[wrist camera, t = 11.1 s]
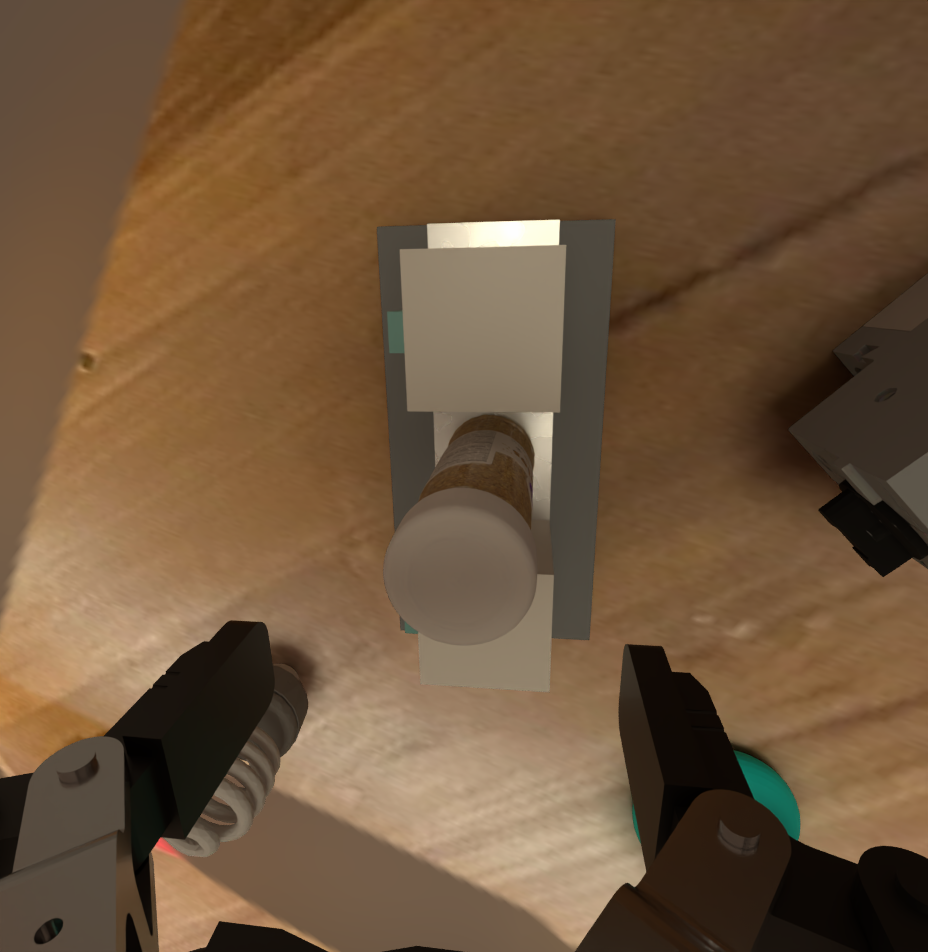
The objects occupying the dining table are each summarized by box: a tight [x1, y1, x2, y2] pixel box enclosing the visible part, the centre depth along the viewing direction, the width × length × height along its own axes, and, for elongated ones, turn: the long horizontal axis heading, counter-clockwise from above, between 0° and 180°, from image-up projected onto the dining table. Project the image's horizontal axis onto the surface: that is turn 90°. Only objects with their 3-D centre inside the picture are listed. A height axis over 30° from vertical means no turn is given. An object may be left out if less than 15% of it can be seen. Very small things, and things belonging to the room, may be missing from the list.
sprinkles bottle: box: [383, 415, 538, 646], centre depth 22 cm, size 5×5×14 cm
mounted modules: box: [387, 245, 566, 692], centre depth 26 cm, size 19×7×6 cm, turn 1°
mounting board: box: [377, 219, 615, 640], centre depth 30 cm, size 22×11×2 cm, turn 1°
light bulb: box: [164, 664, 308, 857], centre depth 32 cm, size 6×6×12 cm
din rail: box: [427, 220, 560, 521], centre depth 29 cm, size 22×6×1 cm, turn 1°
